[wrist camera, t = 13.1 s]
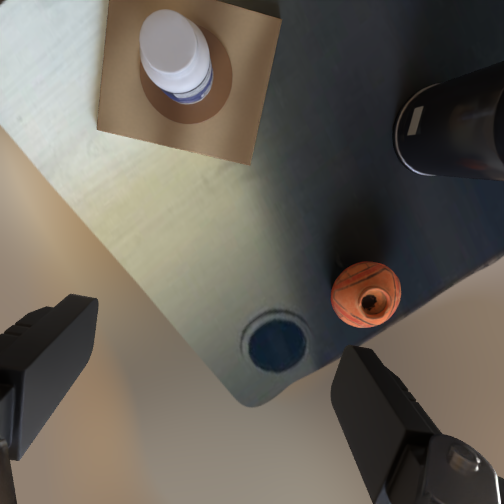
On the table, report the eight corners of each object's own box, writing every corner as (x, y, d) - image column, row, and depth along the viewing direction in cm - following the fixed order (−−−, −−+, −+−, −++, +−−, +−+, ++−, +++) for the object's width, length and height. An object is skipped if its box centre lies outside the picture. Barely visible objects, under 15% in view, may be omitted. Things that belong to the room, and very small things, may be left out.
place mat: (280, 22, 32) (282, 17, 31) (249, 165, 36) (250, 165, 35) (114, -27, 30) (110, -33, 29) (99, 130, 34) (95, 129, 33)
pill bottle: (148, 56, 31) (114, 12, 22) (201, 35, 31) (188, -18, 22) (171, 113, 33) (148, 95, 24) (221, 93, 33) (218, 68, 23)
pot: (335, 327, 42) (348, 346, 35) (316, 269, 41) (326, 276, 35) (397, 308, 41) (422, 323, 34) (378, 249, 41) (400, 253, 34)
